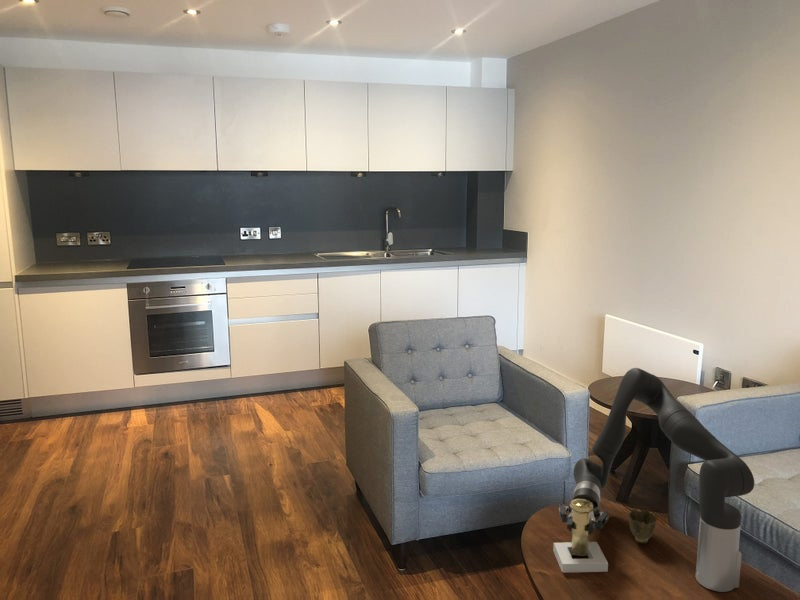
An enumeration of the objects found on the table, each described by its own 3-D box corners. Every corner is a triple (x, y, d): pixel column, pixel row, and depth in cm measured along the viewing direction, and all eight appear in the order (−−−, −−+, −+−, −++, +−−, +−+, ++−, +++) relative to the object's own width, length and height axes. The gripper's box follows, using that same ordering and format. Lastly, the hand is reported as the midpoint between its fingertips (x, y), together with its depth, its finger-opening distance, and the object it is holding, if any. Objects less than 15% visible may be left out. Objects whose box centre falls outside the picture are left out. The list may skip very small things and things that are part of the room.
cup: (651, 534, 192) (652, 508, 190) (658, 548, 184) (660, 522, 183) (624, 533, 192) (626, 508, 191) (631, 547, 185) (632, 521, 184)
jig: (596, 549, 184) (596, 541, 184) (607, 571, 175) (608, 563, 174) (553, 550, 184) (553, 542, 184) (562, 572, 175) (562, 564, 174)
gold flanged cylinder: (587, 545, 182) (589, 498, 179) (593, 557, 176) (595, 509, 173) (566, 545, 182) (568, 498, 179) (571, 557, 176) (573, 510, 173)
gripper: (561, 483, 192) (552, 512, 177) (612, 491, 187) (608, 521, 172) (560, 506, 194) (552, 538, 178) (611, 515, 189) (607, 547, 173)
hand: (579, 529), depth 175 cm, fingers closed on gold flanged cylinder, 4 cm apart
